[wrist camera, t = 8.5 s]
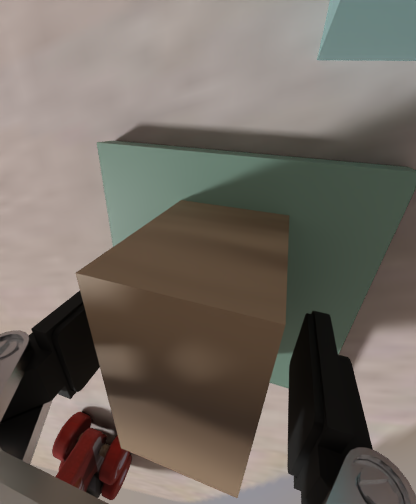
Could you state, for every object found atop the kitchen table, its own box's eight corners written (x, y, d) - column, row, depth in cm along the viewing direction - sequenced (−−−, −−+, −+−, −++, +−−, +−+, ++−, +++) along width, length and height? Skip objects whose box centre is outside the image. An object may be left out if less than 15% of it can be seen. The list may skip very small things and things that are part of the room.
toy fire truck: (86, 445, 32) (8, 567, 23) (77, 396, 26) (-34, 537, 17) (132, 469, 31) (69, 607, 22) (135, 423, 25) (48, 590, 16)
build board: (114, 140, 11) (96, 142, 10) (407, 166, 9) (423, 173, 8) (137, 326, 17) (127, 338, 16) (316, 378, 14) (318, 397, 13)
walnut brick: (180, 200, 10) (75, 272, 5) (289, 215, 9) (285, 324, 4) (182, 332, 14) (120, 448, 9) (258, 354, 13) (237, 498, 8)
